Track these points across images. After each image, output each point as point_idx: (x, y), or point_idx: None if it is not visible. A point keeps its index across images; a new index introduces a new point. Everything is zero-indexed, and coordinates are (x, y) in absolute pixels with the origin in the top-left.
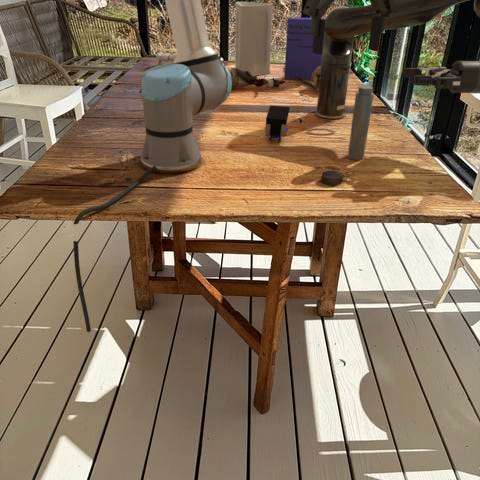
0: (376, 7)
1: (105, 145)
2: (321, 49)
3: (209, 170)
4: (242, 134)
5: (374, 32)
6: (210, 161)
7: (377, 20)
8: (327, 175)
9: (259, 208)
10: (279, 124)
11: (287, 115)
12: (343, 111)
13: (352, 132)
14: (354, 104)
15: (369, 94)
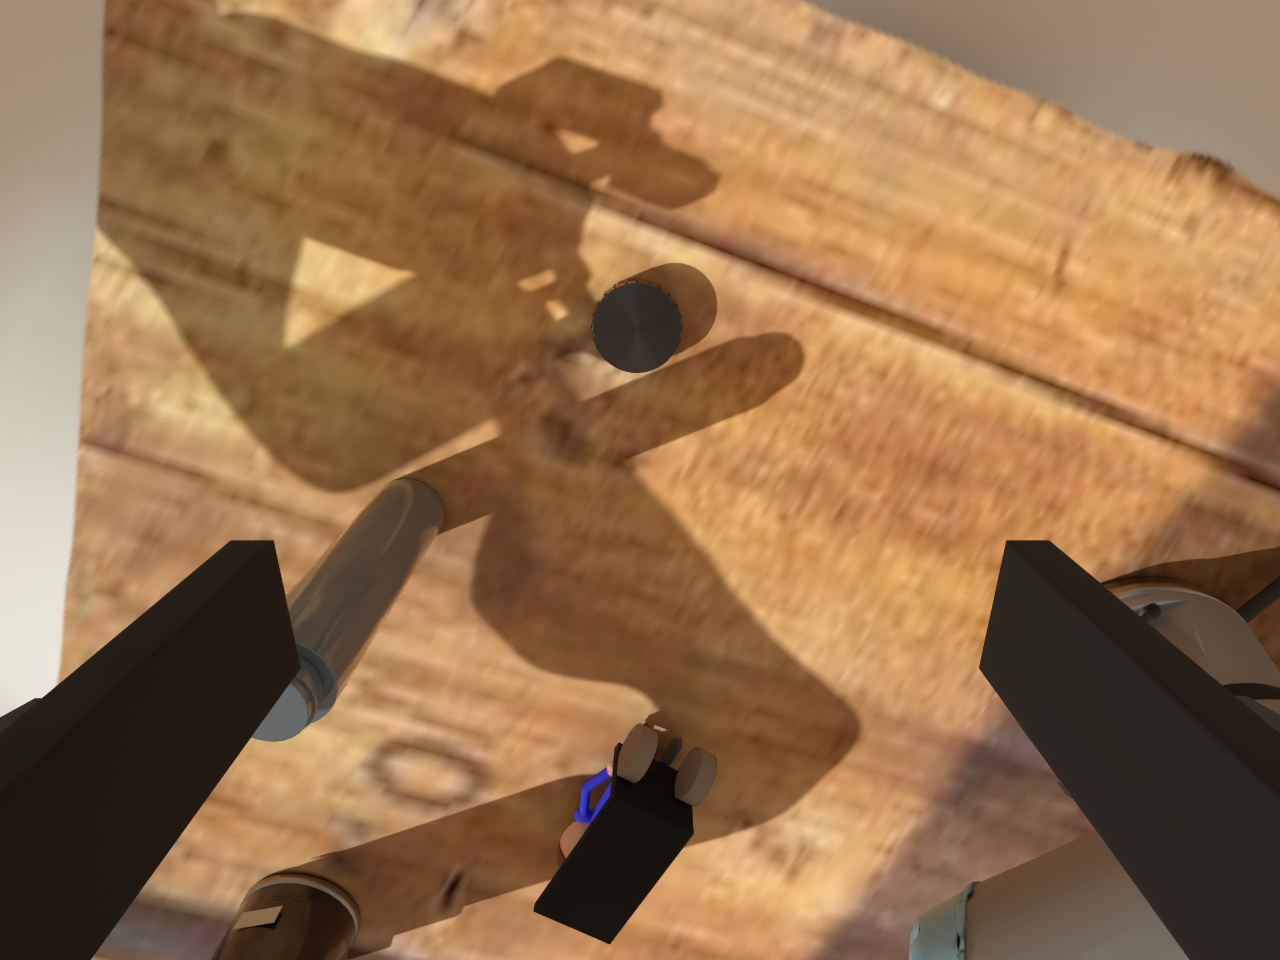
0: None
1: None
2: (1048, 568)
3: None
4: (738, 833)
5: (166, 742)
6: (983, 643)
7: (14, 871)
8: (663, 324)
9: (1052, 183)
10: (641, 791)
11: (587, 837)
12: (246, 905)
13: (410, 562)
14: (359, 662)
15: None
